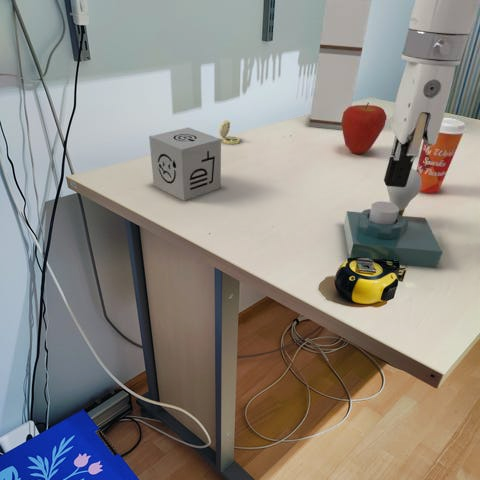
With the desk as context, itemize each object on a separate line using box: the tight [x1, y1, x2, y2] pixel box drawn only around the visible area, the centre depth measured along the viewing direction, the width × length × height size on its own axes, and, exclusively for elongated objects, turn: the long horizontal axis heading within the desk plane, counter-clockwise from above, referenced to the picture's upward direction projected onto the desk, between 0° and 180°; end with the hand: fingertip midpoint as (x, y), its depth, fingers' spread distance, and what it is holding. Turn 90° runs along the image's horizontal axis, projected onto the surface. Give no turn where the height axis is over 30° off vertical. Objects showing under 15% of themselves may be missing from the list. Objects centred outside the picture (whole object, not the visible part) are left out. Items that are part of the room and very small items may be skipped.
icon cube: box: [148, 127, 222, 202], centre depth 86 cm, size 10×10×10 cm
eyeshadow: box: [218, 120, 240, 145], centre depth 113 cm, size 4×5×5 cm
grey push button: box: [369, 200, 399, 225], centre depth 70 cm, size 4×4×2 cm
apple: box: [342, 102, 387, 155], centre depth 108 cm, size 11×11×12 cm
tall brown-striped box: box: [308, 0, 373, 131], centre depth 121 cm, size 11×11×35 cm
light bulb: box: [386, 167, 422, 216], centre depth 78 cm, size 6×6×10 cm
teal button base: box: [343, 208, 443, 268], centre depth 72 cm, size 14×12×5 cm
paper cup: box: [415, 117, 467, 195], centre depth 90 cm, size 8×8×14 cm
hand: (394, 184), depth 67 cm, fingers closed
